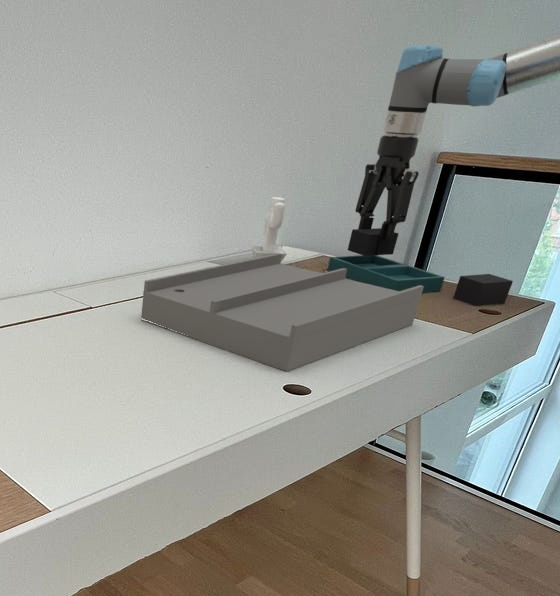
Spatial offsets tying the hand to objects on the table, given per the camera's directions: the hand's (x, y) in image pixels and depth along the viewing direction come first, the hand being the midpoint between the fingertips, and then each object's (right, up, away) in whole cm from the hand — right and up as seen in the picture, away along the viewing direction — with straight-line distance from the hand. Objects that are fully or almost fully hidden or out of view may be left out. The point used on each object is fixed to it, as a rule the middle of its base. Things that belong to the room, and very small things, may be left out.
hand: (370, 250), depth 154 cm
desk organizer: (-30, -26, -31) cm, 50 cm away
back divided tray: (+2, -7, -2) cm, 8 cm away
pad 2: (+17, -16, -13) cm, 27 cm away
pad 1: (0, 0, 0) cm, 0 cm away
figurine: (-22, -1, +7) cm, 23 cm away
